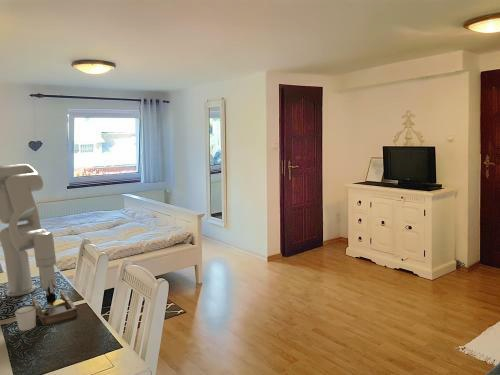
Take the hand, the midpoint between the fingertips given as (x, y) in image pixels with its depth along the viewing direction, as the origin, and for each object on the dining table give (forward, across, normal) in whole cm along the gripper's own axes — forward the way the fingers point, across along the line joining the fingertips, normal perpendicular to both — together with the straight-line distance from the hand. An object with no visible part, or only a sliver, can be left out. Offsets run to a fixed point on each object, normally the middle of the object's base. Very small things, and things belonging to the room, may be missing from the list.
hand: (51, 303), depth 171 cm
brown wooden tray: (+2, +5, 0) cm, 5 cm away
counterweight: (+2, +13, 0) cm, 13 cm away
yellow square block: (+2, +4, +2) cm, 5 cm away
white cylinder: (+2, +15, -11) cm, 18 cm away
